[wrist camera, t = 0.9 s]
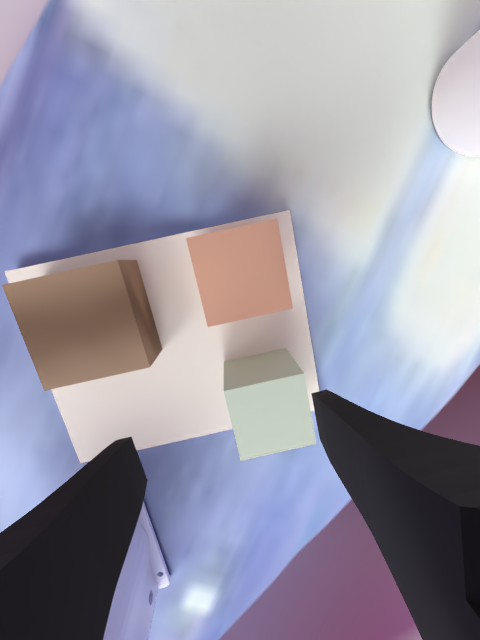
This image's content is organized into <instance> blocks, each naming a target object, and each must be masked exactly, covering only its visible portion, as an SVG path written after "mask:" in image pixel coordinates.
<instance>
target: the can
mask: <svg viewBox="0 0 480 640" xmlns="http://www.w3.org/2000/svg"><path fill="white" fill-rule="evenodd" d="M431 115H432V122H433V126H434V129H435V131H436V133H437V135H438V137H439V138H440V140H441V141H442V142H443V143H444V144H445V145H446V146H447V147H448V148H450V149H451V150H453V151H454V152H456V153H458V154H461V155H464V156H471V157H476V156H480V30H479V31H477V32H476V33H475V34H474V35H473V36H472V37H471V38H470V39H469V40H468V41H467V42H466V43H464V44H463V45H462V46H461V47H460V48H459V49H458V50H457V51H456V52H455V53H454V54H453V55H452V56H451V57H450V58H449V60H448V61H447V62H446V64H445V65H444V66H443V68H442V70H441V72H440V74H439V76H438V78H437V80H436V83H435V86H434V90H433V95H432V104H431Z"/></svg>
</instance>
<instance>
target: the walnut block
mask: <svg viewBox="0 0 480 640" xmlns="http://www.w3.org/2000/svg"><path fill="white" fill-rule="evenodd" d="M2 286H3V289H4V291H5V294H6V296H7V299H8V301H9V304H10V306H11V309H12V311H13V314H14V316H15V319H16V321H17V324H18V326H19V329H20V331H21V334H22V336H23V339H24V341H25V344H26V346H27V348H28V351H29V353H30V356H31V358H32V361H33V363H34V366H35V368H36V371H37V373H38V376H39V378H40V381H41V383H42V386H43V388H44V391H46V390H50V389H55V388H59V387H64V386H68V385H73V384H77V383H82V382H86V381H91V380H95V379H100V378H104V377H109V376H113V375H118V374H122V373H127V372H131V371H136V370H140V369H145V368H149V367H151V365H152V364H153V362H154V361H155V360H156V358H157V357H158V355H159V354H160V352H161V351H162V350H163V349H162V346H161V342H160V339H159V335H158V332H157V328H156V325H155V321H154V318H153V314H152V311H151V308H150V304H149V301H148V297H147V294H146V290H145V287H144V283H143V280H142V276H141V273H140V270H139V266H138V263H137V260H115V261H110V262H106V263H101V264H96V265H92V266H87V267H83V268H78V269H73V270H69V271H64V272H60V273H55V274H50V275H46V276H41V277H37V278H32V279H27V280H23V281H18V282H14V283H9V284H4V285H2Z"/></svg>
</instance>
